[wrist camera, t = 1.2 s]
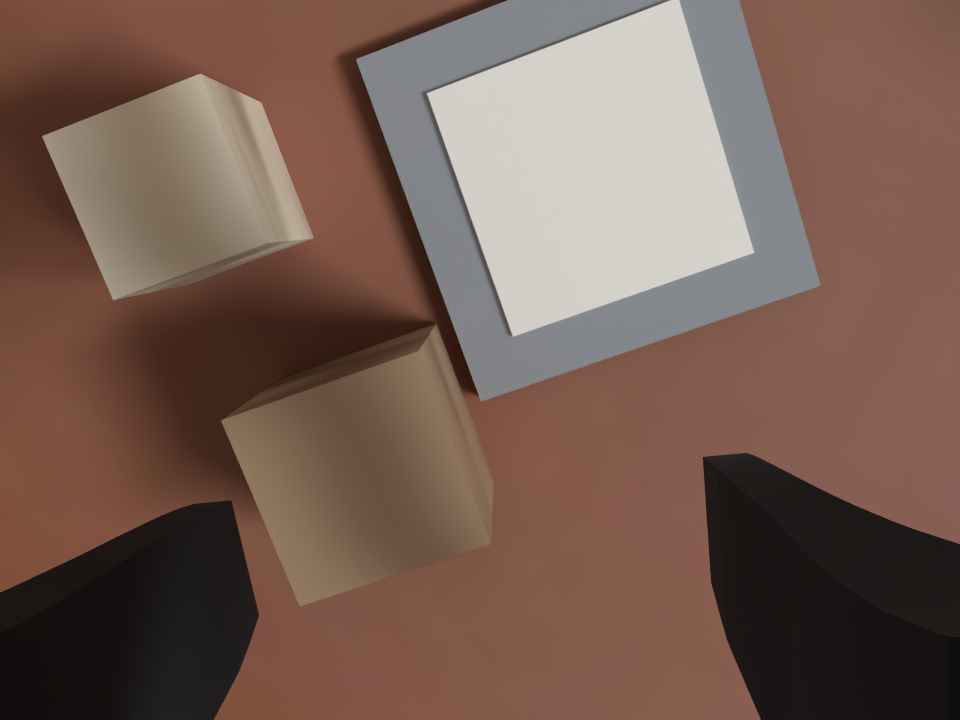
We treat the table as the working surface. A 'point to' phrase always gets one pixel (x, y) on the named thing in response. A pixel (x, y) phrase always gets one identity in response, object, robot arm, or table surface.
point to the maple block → (178, 186)
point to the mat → (589, 177)
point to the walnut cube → (366, 466)
